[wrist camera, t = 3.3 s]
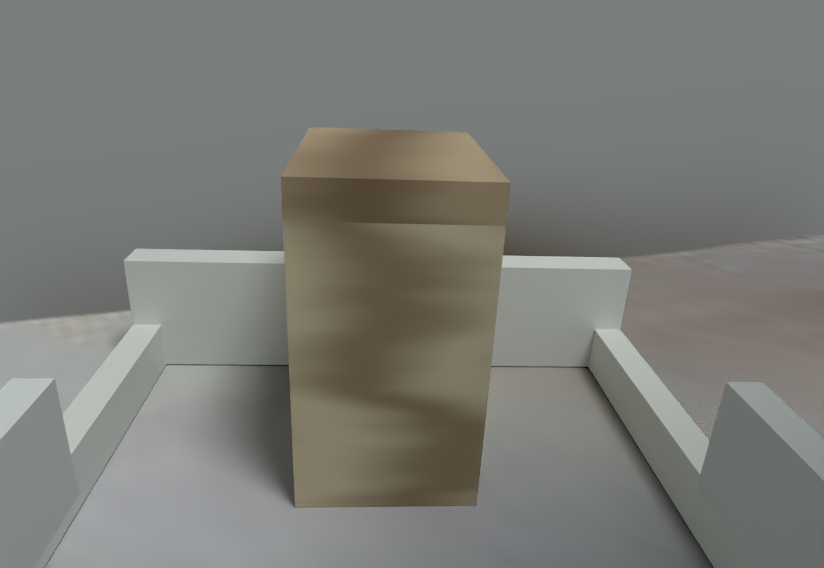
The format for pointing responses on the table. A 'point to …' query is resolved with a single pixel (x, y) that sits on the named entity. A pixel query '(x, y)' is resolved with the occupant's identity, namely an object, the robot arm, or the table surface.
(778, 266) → the table surface
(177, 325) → the bay
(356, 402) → the tan cardboard box
